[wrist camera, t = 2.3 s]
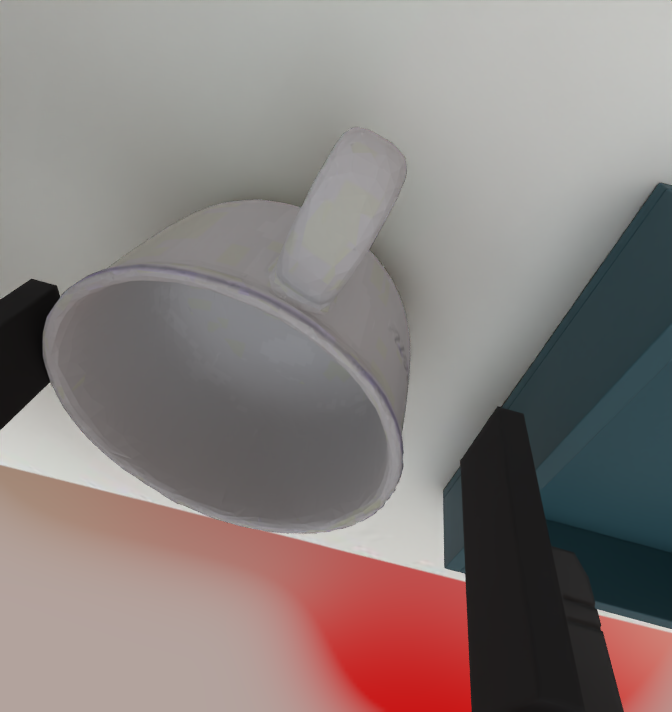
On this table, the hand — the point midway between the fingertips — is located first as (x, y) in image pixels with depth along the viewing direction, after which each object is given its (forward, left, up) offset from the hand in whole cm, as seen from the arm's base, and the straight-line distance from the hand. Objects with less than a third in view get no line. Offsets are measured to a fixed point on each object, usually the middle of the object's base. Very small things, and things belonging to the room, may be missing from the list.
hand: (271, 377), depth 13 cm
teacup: (0, 0, -6) cm, 6 cm away
